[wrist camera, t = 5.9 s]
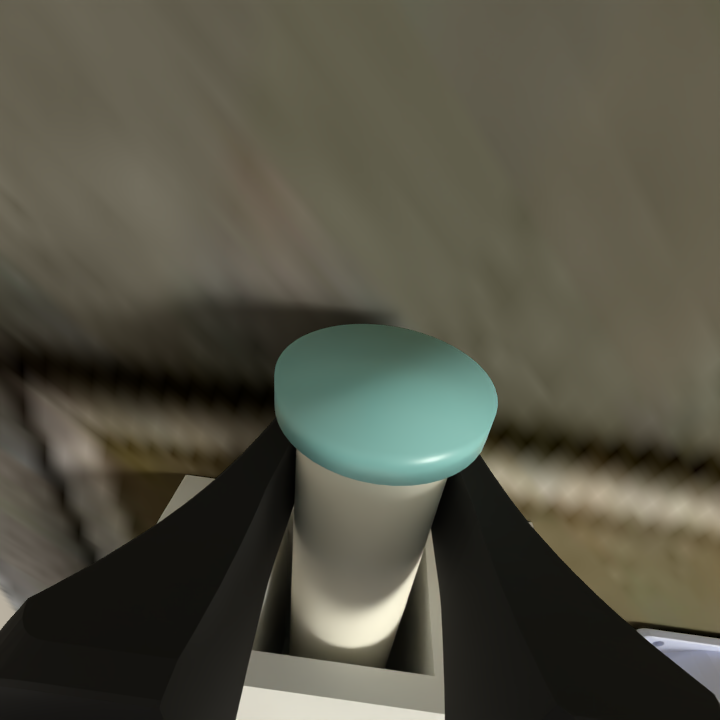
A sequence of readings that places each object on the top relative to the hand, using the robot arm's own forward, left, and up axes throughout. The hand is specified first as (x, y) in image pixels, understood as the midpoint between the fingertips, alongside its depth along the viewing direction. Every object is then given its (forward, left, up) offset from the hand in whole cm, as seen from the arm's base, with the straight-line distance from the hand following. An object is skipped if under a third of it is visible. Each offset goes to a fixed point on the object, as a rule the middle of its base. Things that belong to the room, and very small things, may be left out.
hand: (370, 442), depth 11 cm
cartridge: (0, +5, -1) cm, 5 cm away
